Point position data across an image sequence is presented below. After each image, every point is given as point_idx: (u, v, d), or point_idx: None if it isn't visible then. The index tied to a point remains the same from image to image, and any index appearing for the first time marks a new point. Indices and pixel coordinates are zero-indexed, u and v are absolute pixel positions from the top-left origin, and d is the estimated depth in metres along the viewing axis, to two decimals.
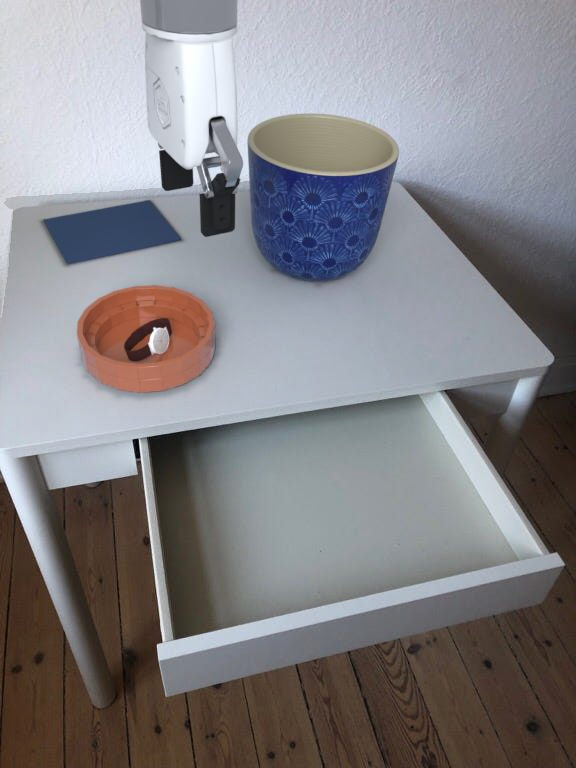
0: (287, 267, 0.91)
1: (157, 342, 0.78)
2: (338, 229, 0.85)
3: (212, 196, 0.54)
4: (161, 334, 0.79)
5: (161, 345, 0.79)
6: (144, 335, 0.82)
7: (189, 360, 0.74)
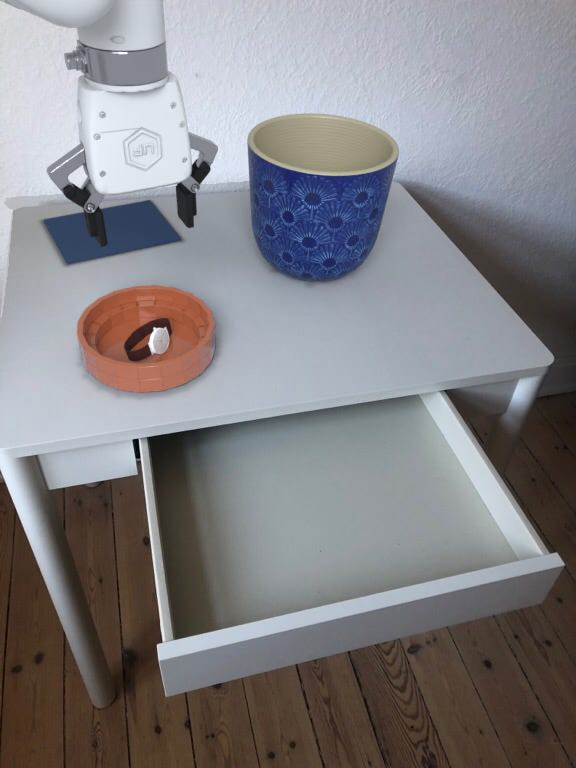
0: (287, 267, 0.91)
1: (157, 342, 0.78)
2: (338, 228, 0.85)
3: None
4: (161, 334, 0.79)
5: (161, 345, 0.79)
6: (144, 335, 0.82)
7: (189, 360, 0.74)
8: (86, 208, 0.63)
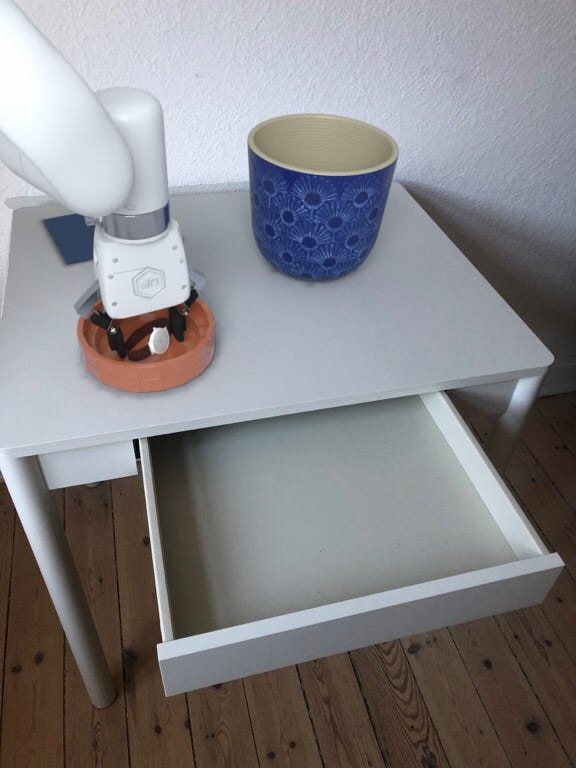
0: (287, 267, 0.91)
1: (157, 342, 0.78)
2: (338, 228, 0.85)
3: (187, 310, 0.79)
4: (161, 334, 0.79)
5: (161, 345, 0.79)
6: (144, 335, 0.82)
7: (189, 360, 0.74)
8: (109, 331, 0.74)
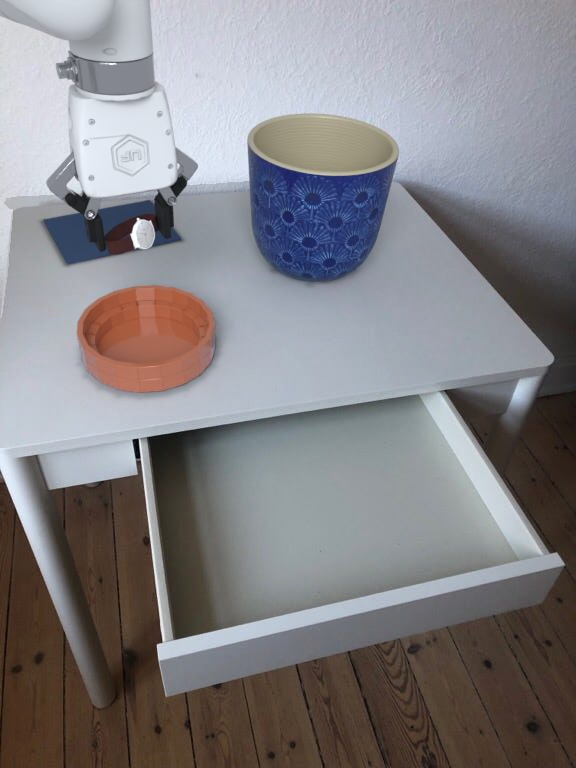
0: (287, 267, 0.91)
1: (141, 235, 0.70)
2: (338, 228, 0.85)
3: None
4: (145, 227, 0.71)
5: (145, 239, 0.71)
6: (127, 232, 0.74)
7: (189, 360, 0.74)
8: (86, 215, 0.66)
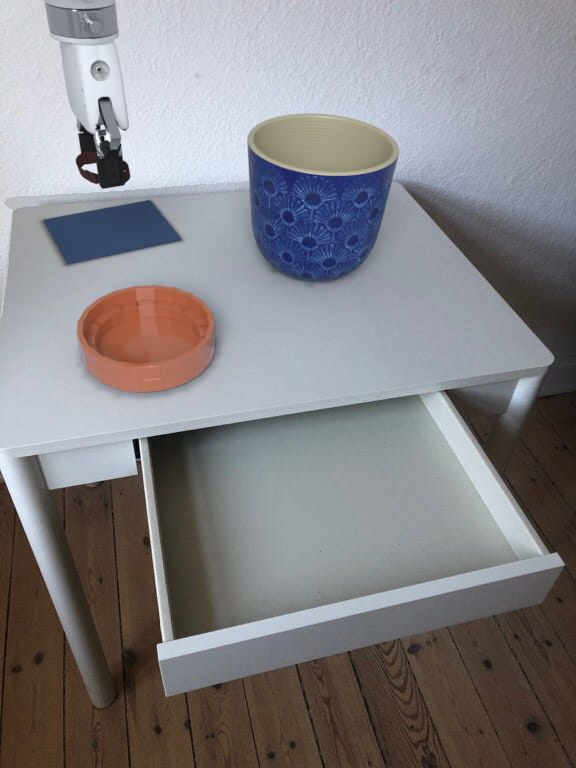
0: (287, 267, 0.91)
1: None
2: (338, 228, 0.85)
3: None
4: None
5: None
6: (87, 178, 0.82)
7: (189, 360, 0.74)
8: (120, 153, 0.77)
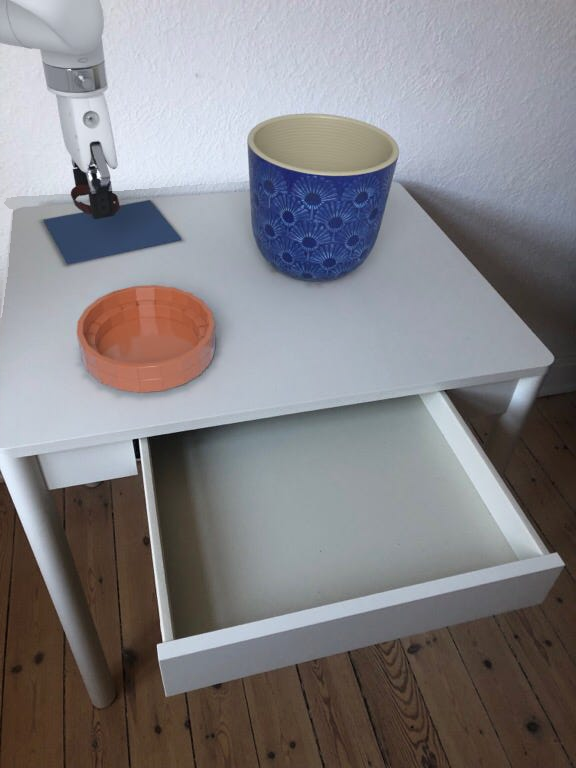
0: (287, 267, 0.91)
1: None
2: (338, 229, 0.85)
3: None
4: None
5: None
6: (81, 208, 0.92)
7: (189, 360, 0.74)
8: None
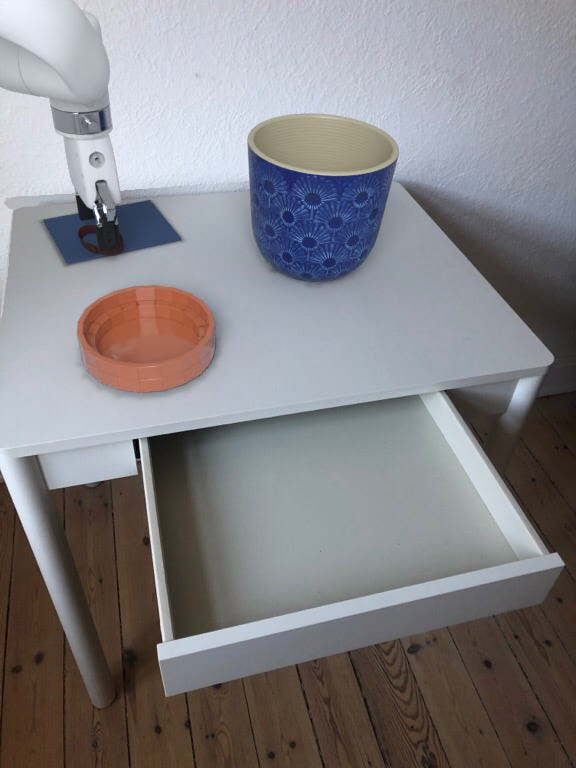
0: (287, 267, 0.91)
1: None
2: (338, 229, 0.85)
3: None
4: None
5: None
6: (87, 248, 0.96)
7: (189, 360, 0.74)
8: (116, 222, 0.90)
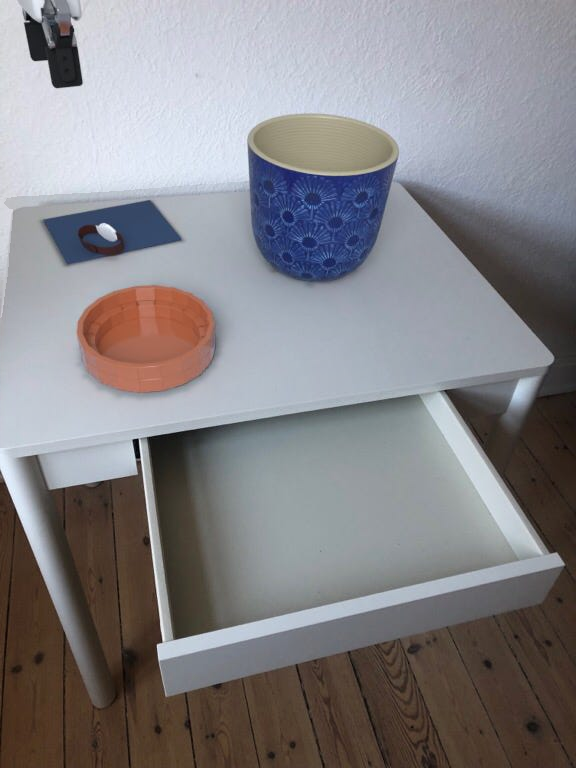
0: (287, 267, 0.91)
1: None
2: (338, 228, 0.85)
3: None
4: None
5: None
6: (87, 248, 0.96)
7: (189, 360, 0.74)
8: None
